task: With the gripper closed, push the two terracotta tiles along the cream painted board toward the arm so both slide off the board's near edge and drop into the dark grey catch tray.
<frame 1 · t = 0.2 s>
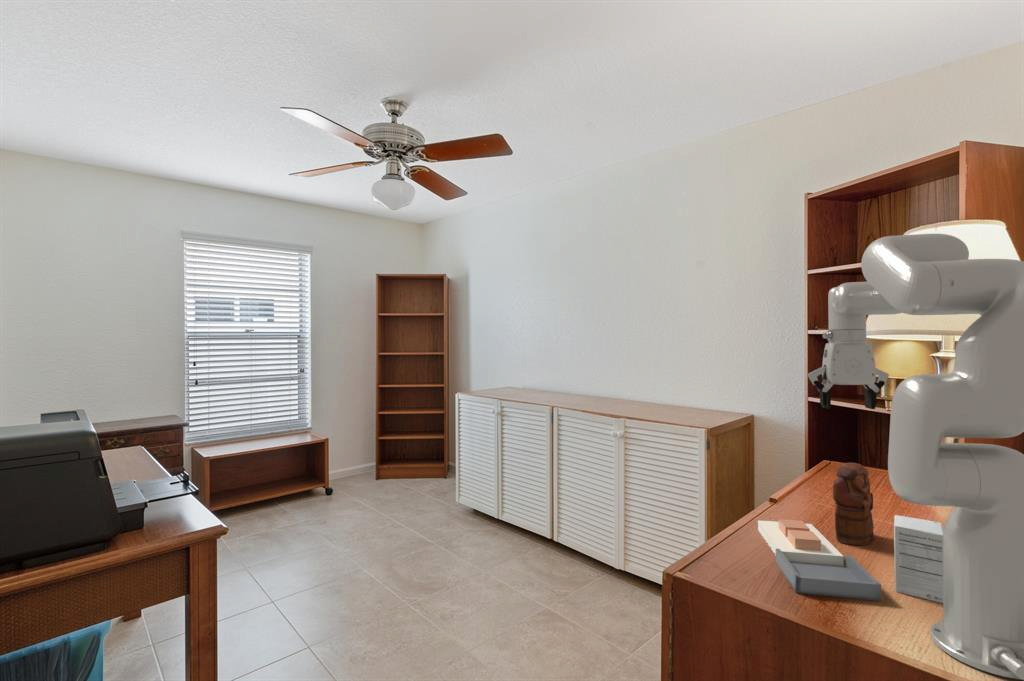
hand: (847, 408, 117), 31 cm above the table, tool pointing down, fingers open, 9 cm apart
wooden figurine: (855, 539, 115), on the table
catch tray: (824, 580, 96), on the table
supplement box: (919, 591, 92), on the table
tile front: (803, 544, 107), point 2 cm above the table, touching board
board: (796, 547, 111), on the table
tile back: (793, 533, 113), point 2 cm above the table, touching board
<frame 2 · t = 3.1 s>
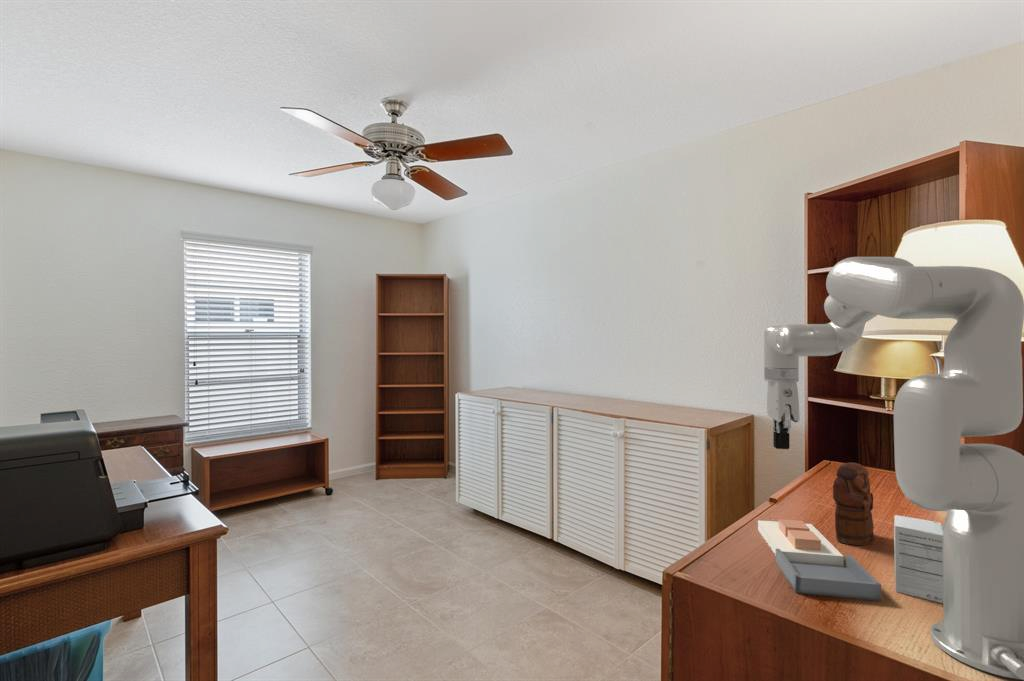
hand: (781, 448, 121), 20 cm above the table, tool pointing down, fingers closed
nothing on the table moved.
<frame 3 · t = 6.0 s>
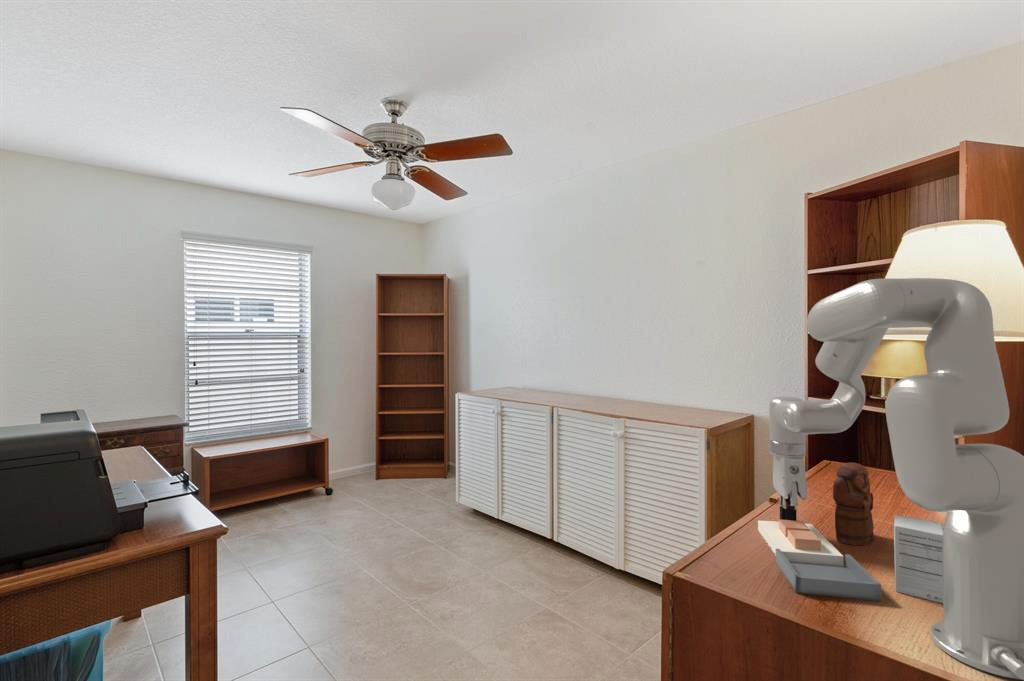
hand: (788, 524, 117), 3 cm above the table, tool pointing down, fingers closed
tile back: (794, 533, 113), point 2 cm above the table, touching board, gripper
everything else where it was.
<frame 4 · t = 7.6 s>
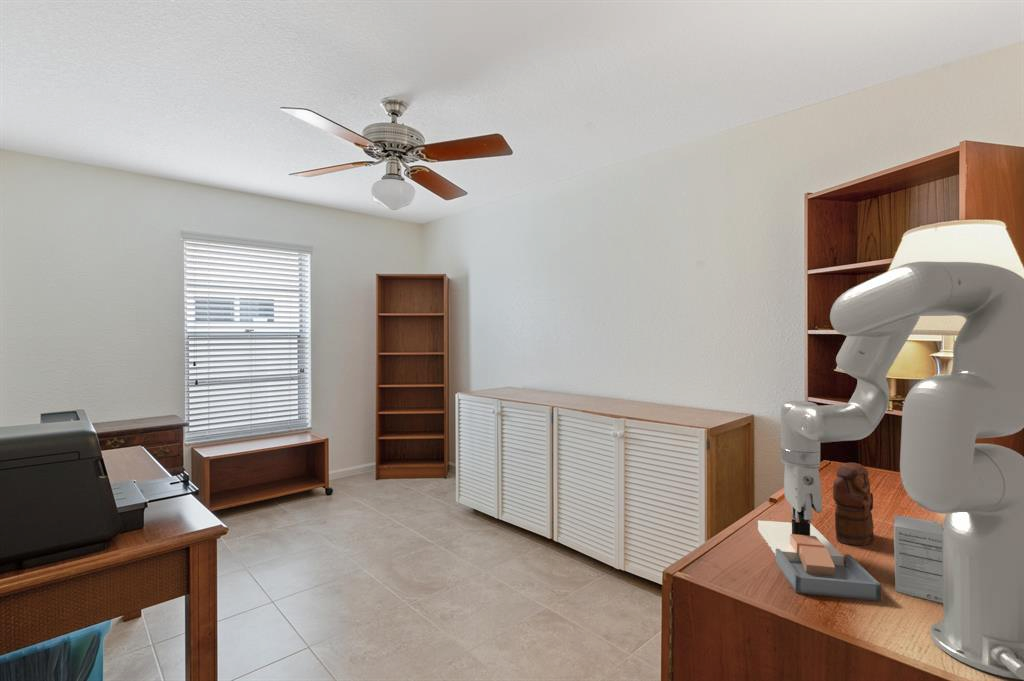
hand: (800, 538, 108), 3 cm above the table, tool pointing down, fingers closed
tile front: (815, 564, 99), point 1 cm above the table, tilted 23°, touching tile back
tile back: (806, 549, 104), point 2 cm above the table, touching board, gripper, tile front
everything else where it was.
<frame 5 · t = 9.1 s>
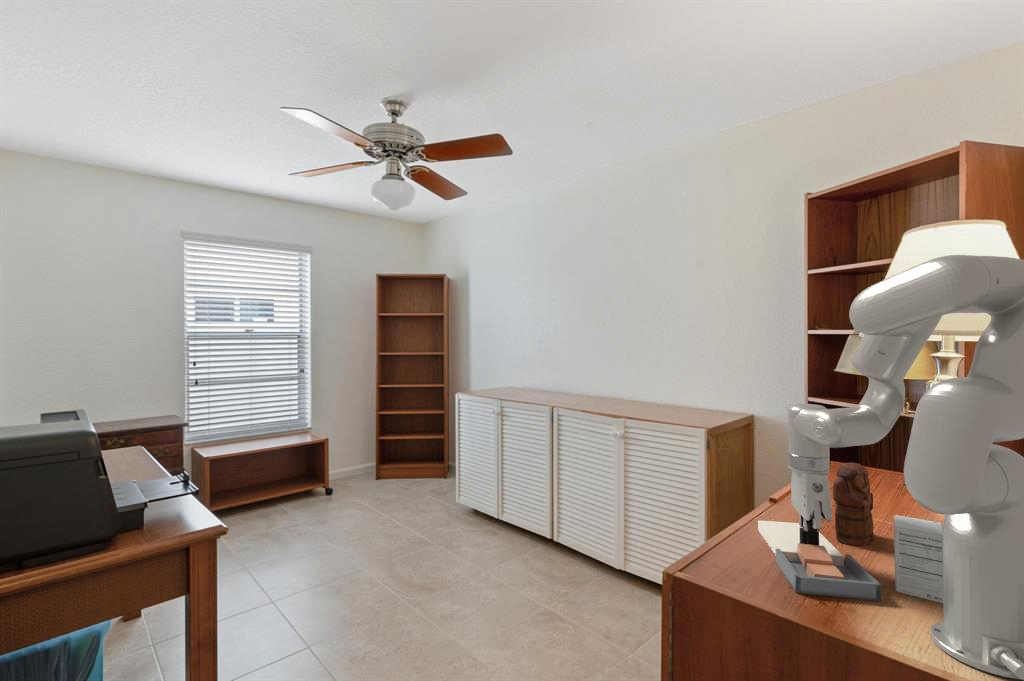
hand: (809, 547, 103), 3 cm above the table, tool pointing down, fingers closed
tile front: (824, 580, 95), resting on catch tray, touching tile back
tile back: (813, 561, 100), point 2 cm above the table, tilted 12°, touching gripper, tile front
everything else where it was.
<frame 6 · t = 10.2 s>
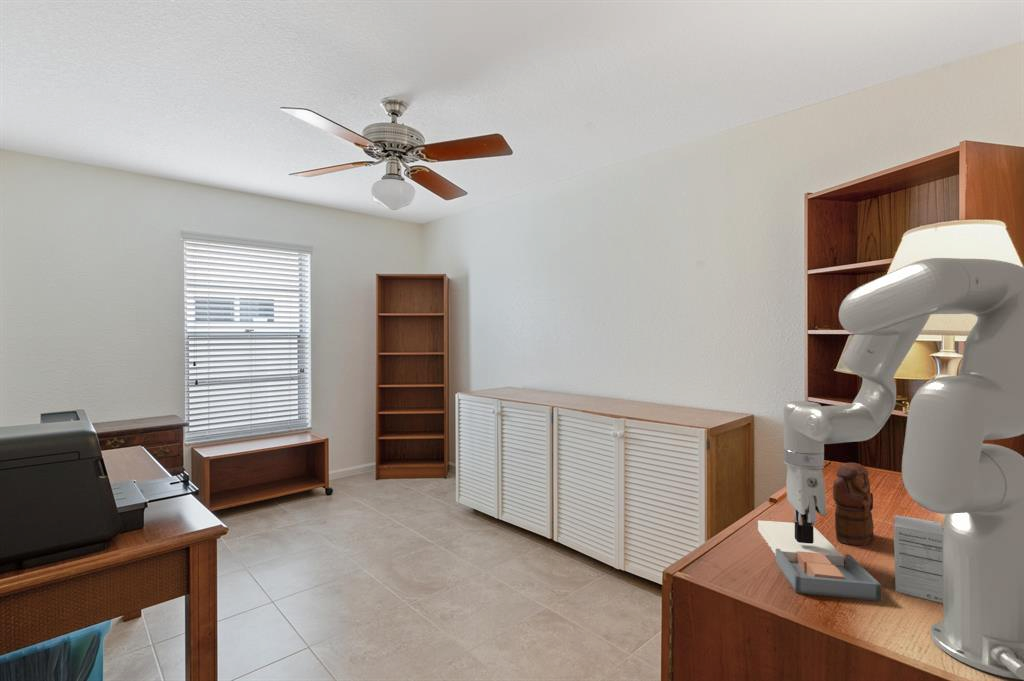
hand: (804, 541, 106), 3 cm above the table, tool pointing down, fingers closed
tile front: (824, 580, 95), resting on catch tray
tile back: (813, 568, 100), resting on catch tray
everything else where it was.
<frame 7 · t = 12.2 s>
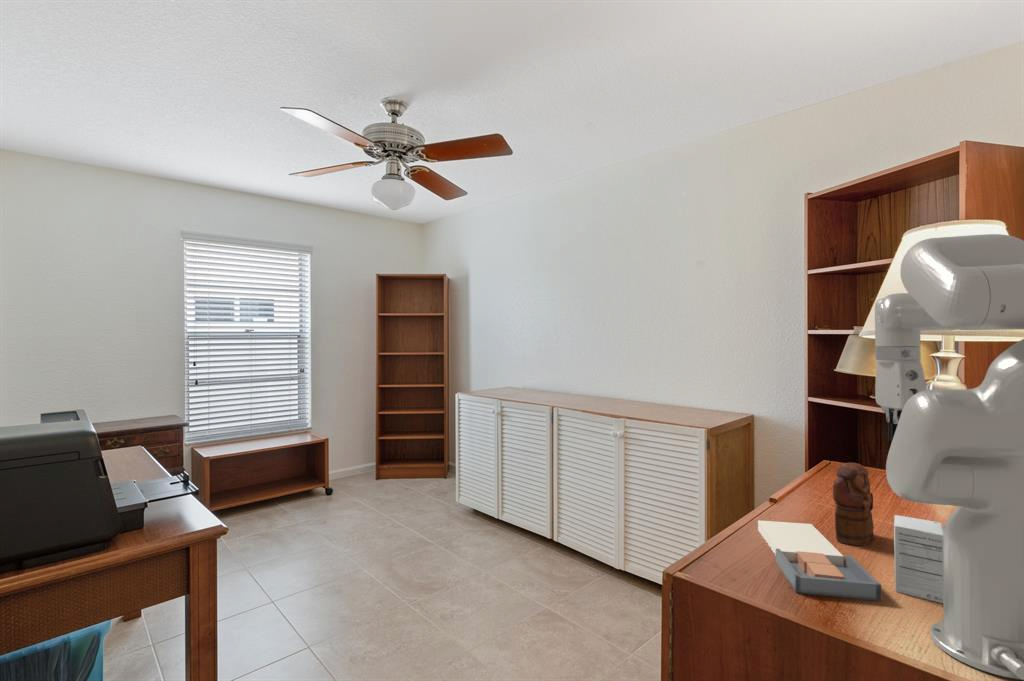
hand: (898, 441, 102), 26 cm above the table, tool pointing down, fingers closed
nothing on the table moved.
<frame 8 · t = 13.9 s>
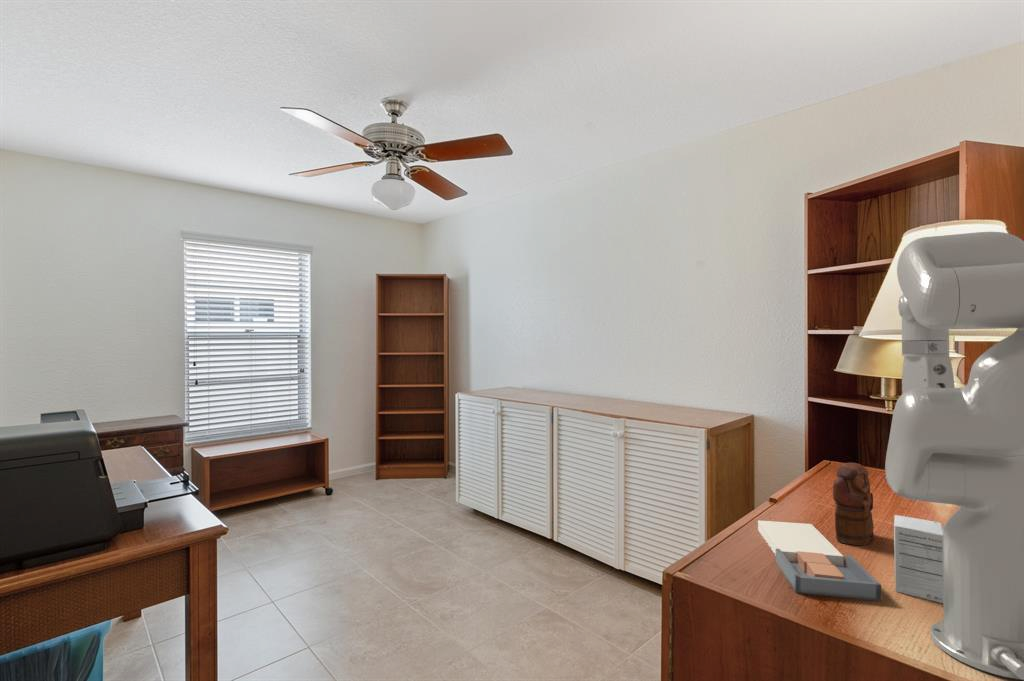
hand: (925, 437, 101), 27 cm above the table, tool pointing down, fingers closed
nothing on the table moved.
at the end: tile back inside the target area (4.4 cm from its centre), point 0.5 cm above the table; tile front inside the target area (0.9 cm from its centre), point 0.5 cm above the table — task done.
